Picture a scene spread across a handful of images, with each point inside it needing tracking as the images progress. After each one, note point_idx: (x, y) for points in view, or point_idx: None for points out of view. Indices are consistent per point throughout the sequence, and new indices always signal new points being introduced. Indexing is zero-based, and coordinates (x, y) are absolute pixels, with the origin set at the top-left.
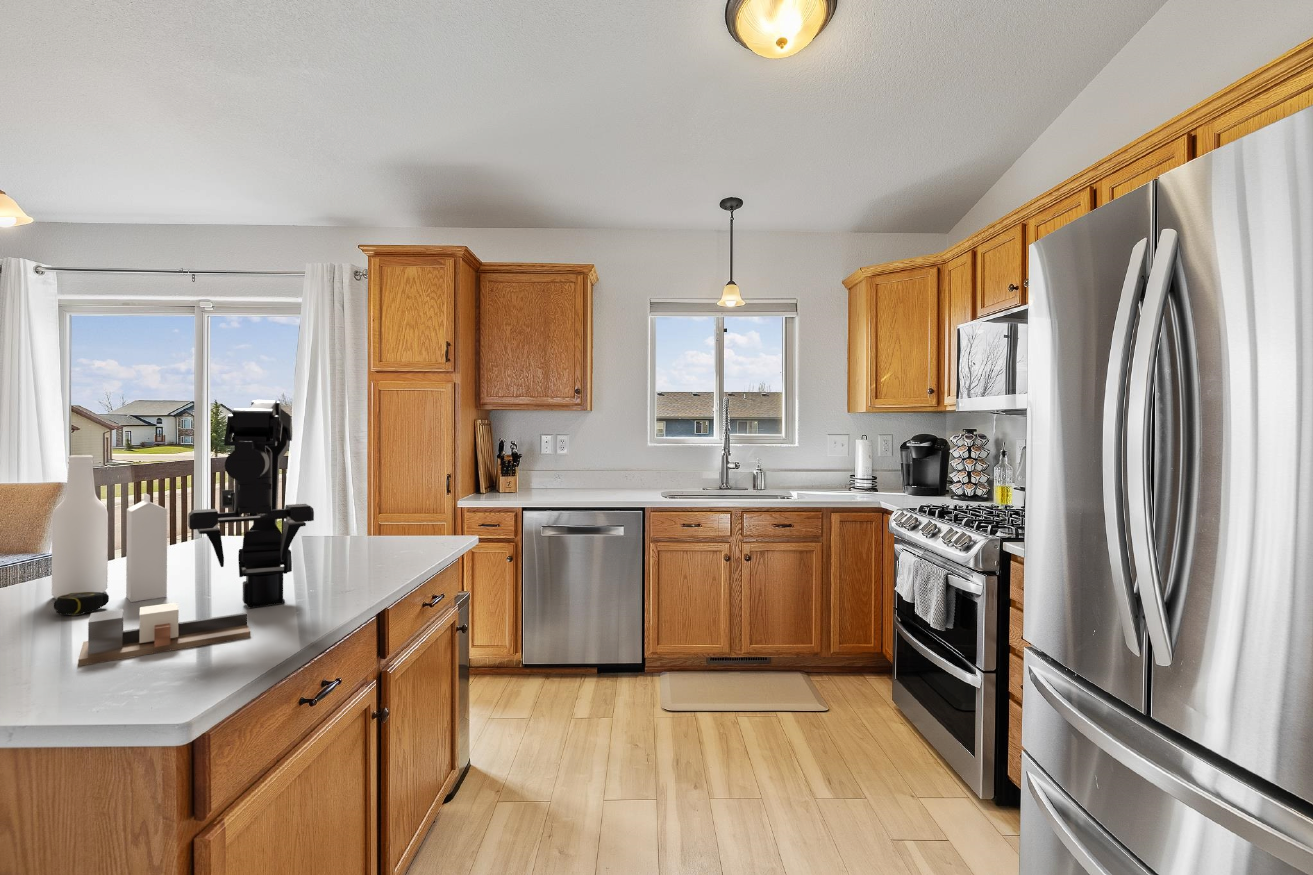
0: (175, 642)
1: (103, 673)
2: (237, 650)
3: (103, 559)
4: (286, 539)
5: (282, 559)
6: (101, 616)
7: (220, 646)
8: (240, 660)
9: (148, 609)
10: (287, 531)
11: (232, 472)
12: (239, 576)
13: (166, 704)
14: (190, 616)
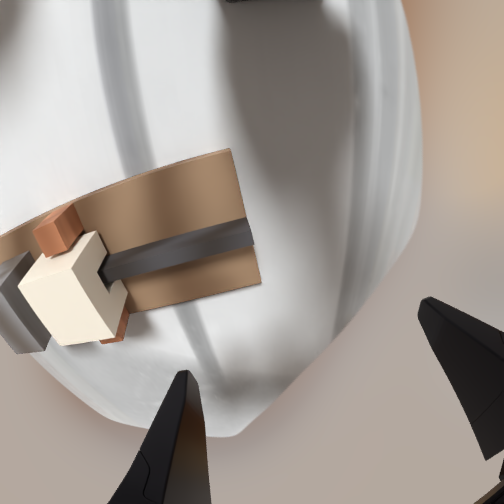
0: (132, 305)
1: (94, 358)
2: (245, 333)
3: None
4: (465, 404)
5: (421, 321)
6: (5, 328)
7: (212, 309)
8: (255, 366)
9: (47, 313)
10: (477, 436)
11: None
12: None
13: (208, 424)
14: (82, 38)
